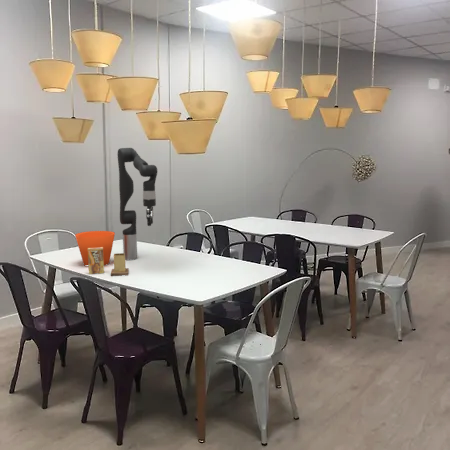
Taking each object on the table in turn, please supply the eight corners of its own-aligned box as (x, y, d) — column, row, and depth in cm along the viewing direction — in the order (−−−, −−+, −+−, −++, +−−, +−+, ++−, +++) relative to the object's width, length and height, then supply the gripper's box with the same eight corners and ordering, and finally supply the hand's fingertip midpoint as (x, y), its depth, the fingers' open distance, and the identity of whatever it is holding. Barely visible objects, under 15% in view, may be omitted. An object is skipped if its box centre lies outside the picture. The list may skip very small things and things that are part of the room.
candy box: (104, 271, 297) (102, 247, 294) (104, 273, 293) (103, 248, 290) (88, 272, 294) (87, 247, 292) (88, 274, 290) (87, 249, 288)
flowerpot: (90, 258, 334) (88, 230, 331) (122, 260, 327) (121, 231, 324) (68, 266, 310) (67, 236, 307) (103, 269, 303) (102, 237, 300)
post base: (111, 271, 297) (111, 256, 296) (128, 270, 299) (128, 255, 298) (110, 276, 286) (110, 260, 284) (128, 275, 287) (127, 259, 286)
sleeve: (114, 269, 295) (114, 253, 293) (125, 269, 296) (125, 253, 294) (114, 272, 289) (113, 255, 287) (125, 271, 290) (124, 255, 288)
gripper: (144, 197, 301) (145, 223, 304) (141, 199, 287) (142, 226, 290) (156, 197, 302) (157, 223, 304) (154, 199, 287) (155, 226, 290)
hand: (150, 224), depth 297 cm, fingers open, 8 cm apart
